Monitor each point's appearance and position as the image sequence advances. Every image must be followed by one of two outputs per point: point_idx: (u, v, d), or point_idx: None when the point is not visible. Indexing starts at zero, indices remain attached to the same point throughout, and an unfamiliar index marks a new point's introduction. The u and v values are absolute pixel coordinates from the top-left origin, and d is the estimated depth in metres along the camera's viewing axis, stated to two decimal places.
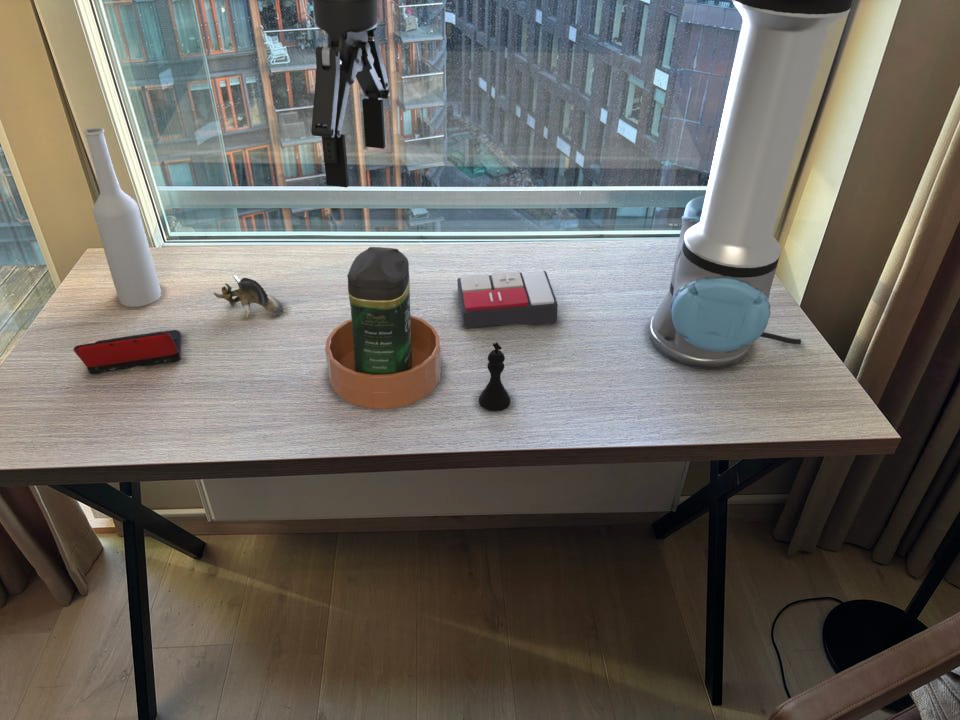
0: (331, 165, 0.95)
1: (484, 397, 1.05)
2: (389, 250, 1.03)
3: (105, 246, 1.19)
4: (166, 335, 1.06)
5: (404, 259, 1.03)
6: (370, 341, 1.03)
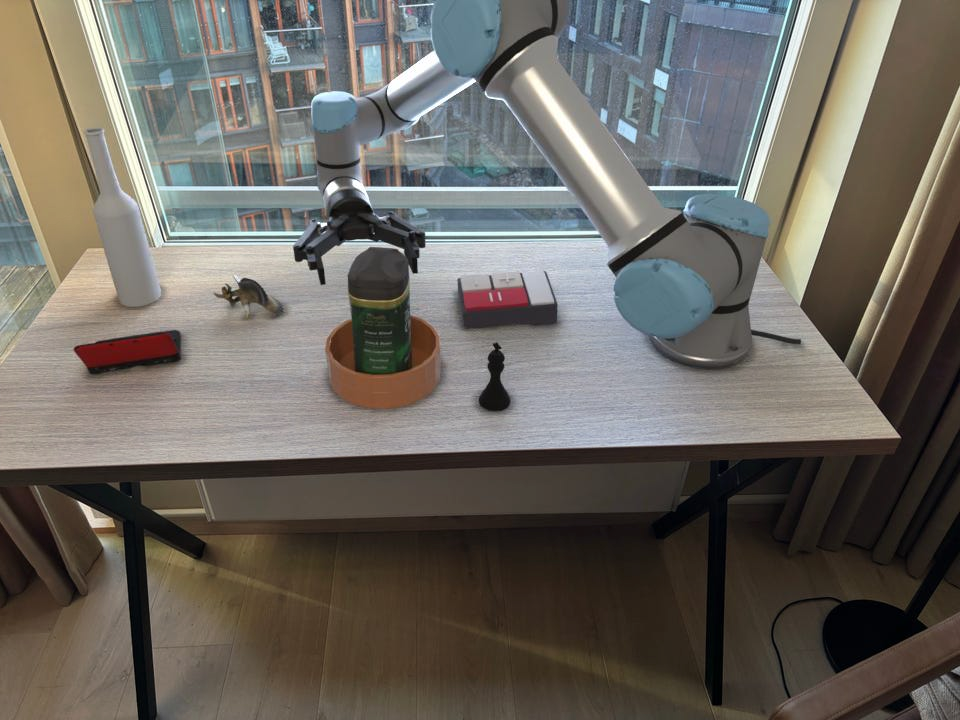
0: (317, 270, 1.13)
1: (484, 397, 1.05)
2: (389, 250, 1.03)
3: (105, 246, 1.19)
4: (166, 335, 1.06)
5: (404, 259, 1.03)
6: (370, 341, 1.03)
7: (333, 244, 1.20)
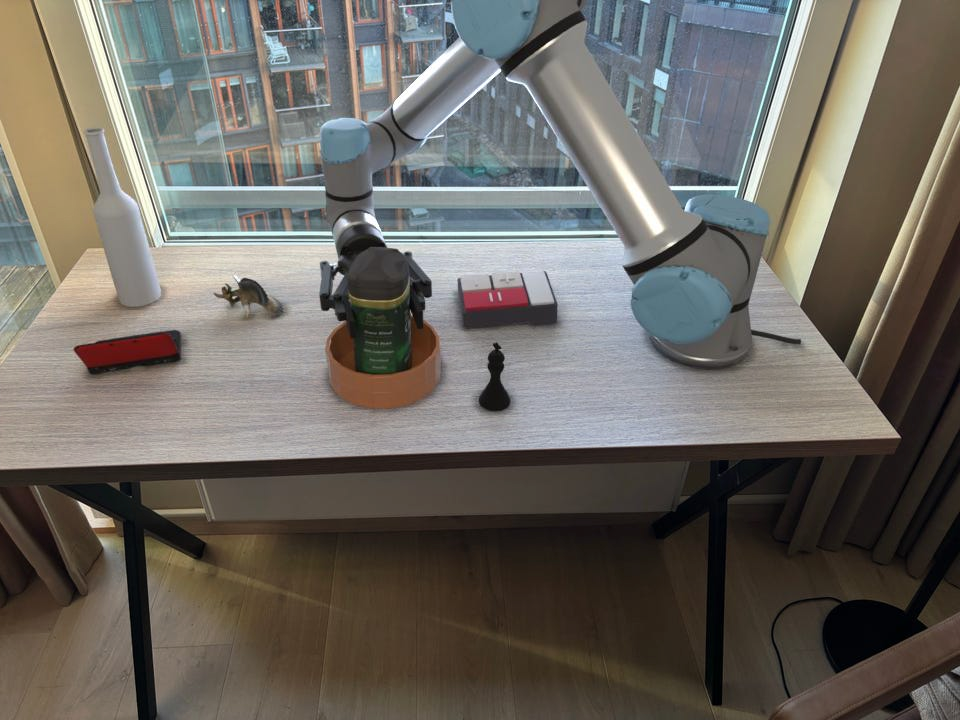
0: (347, 321, 1.02)
1: (484, 397, 1.05)
2: (389, 250, 1.03)
3: (105, 246, 1.19)
4: (166, 335, 1.06)
5: (404, 259, 1.03)
6: (370, 341, 1.03)
7: None
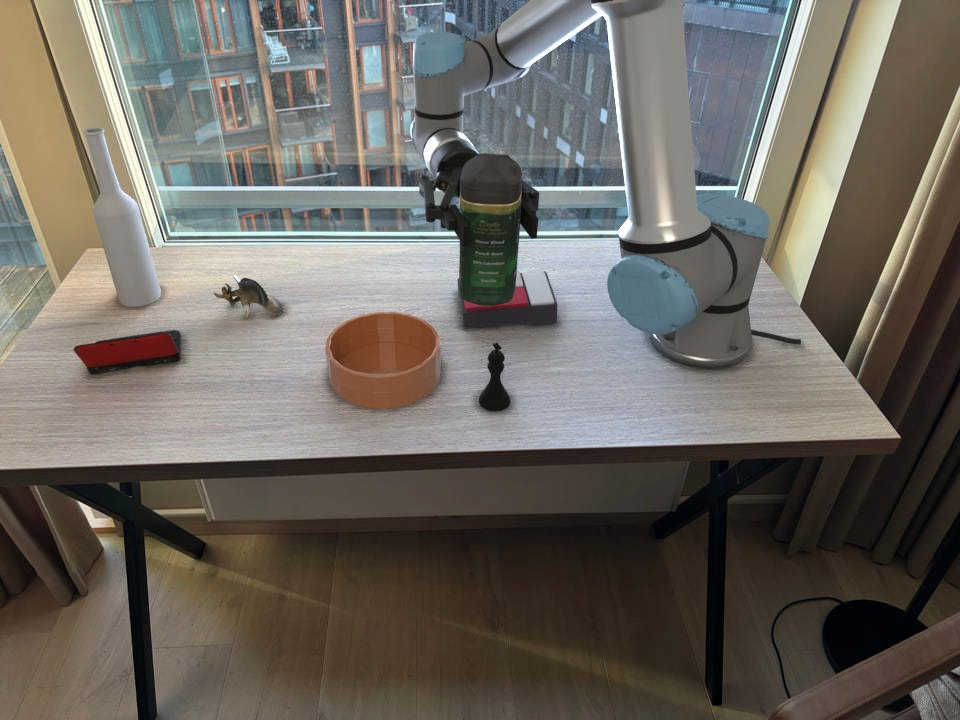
0: (457, 230, 0.97)
1: (484, 397, 1.05)
2: (501, 156, 0.98)
3: (105, 246, 1.19)
4: (166, 335, 1.06)
5: (516, 165, 0.98)
6: (481, 251, 0.98)
7: (456, 201, 1.05)
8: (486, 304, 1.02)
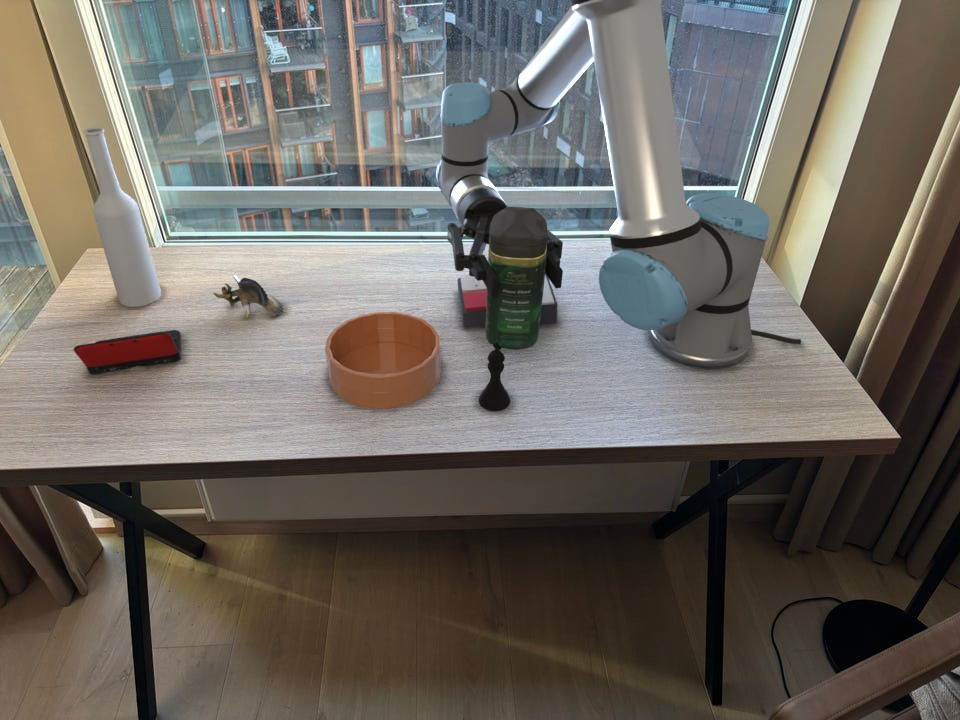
0: (486, 280, 1.03)
1: (484, 397, 1.05)
2: (528, 209, 1.03)
3: (105, 246, 1.19)
4: (166, 335, 1.06)
5: (542, 218, 1.03)
6: (508, 300, 1.04)
7: (483, 249, 1.10)
8: (511, 348, 1.08)
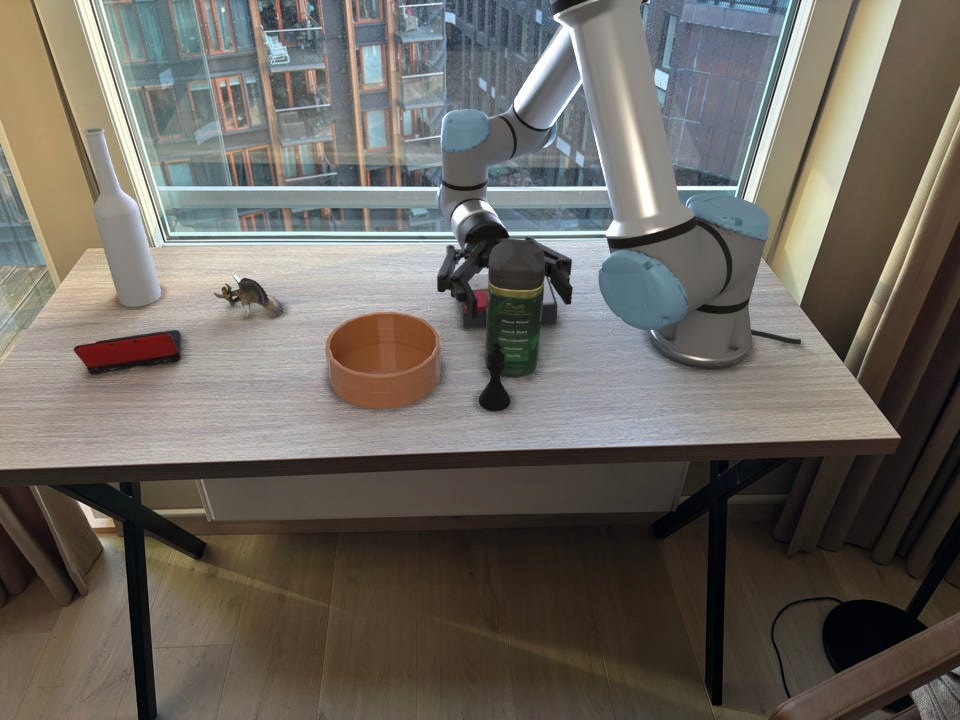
0: (466, 302, 1.06)
1: (484, 397, 1.05)
2: (526, 242, 1.06)
3: (105, 246, 1.19)
4: (166, 335, 1.06)
5: (540, 250, 1.06)
6: (507, 330, 1.07)
7: (474, 272, 1.13)
8: (510, 376, 1.11)
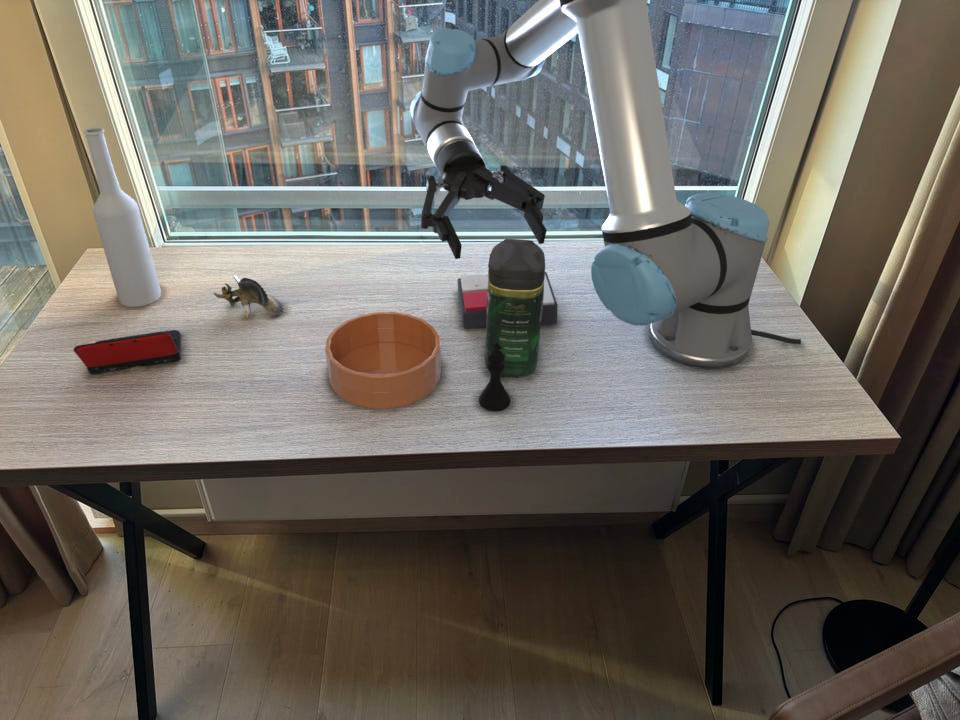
0: (450, 242, 1.15)
1: (484, 397, 1.05)
2: (526, 242, 1.06)
3: (105, 246, 1.19)
4: (166, 335, 1.06)
5: (540, 250, 1.06)
6: (507, 330, 1.07)
7: (453, 205, 1.21)
8: (510, 376, 1.11)
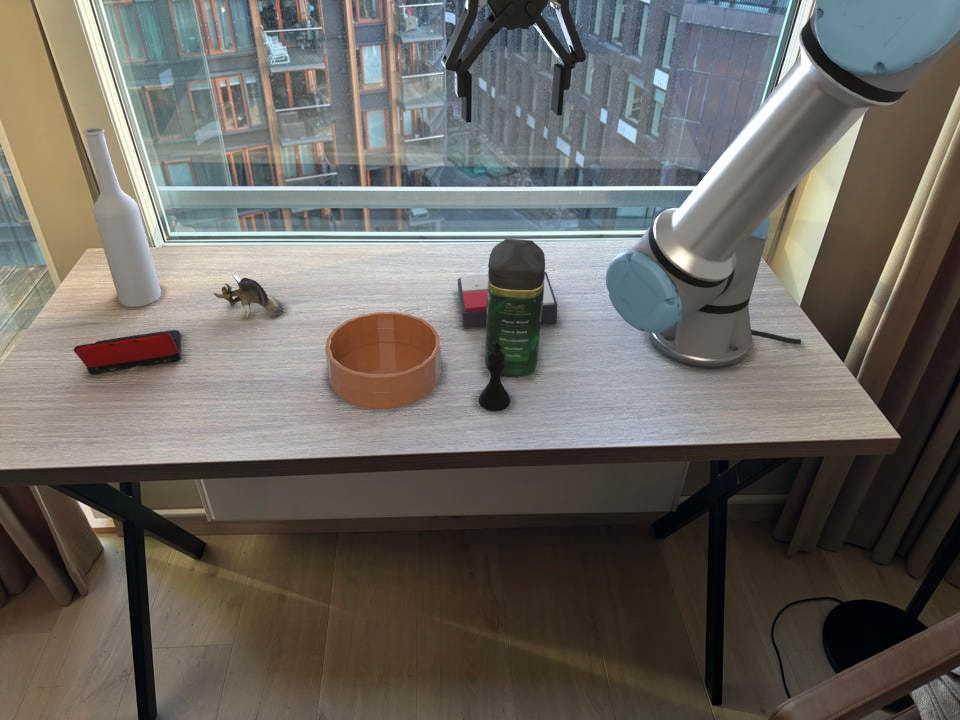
0: (463, 99, 1.08)
1: (484, 397, 1.05)
2: (526, 242, 1.06)
3: (105, 246, 1.19)
4: (166, 335, 1.06)
5: (540, 250, 1.06)
6: (507, 329, 1.07)
7: None
8: (510, 376, 1.11)
